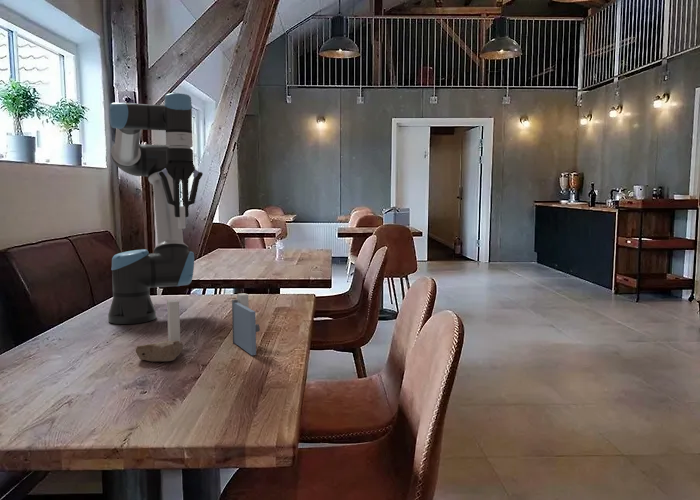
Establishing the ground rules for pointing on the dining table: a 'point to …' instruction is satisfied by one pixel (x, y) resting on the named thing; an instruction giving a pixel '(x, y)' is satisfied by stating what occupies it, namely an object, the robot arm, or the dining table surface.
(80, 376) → the dining table surface
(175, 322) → the pair of grey bars
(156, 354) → the stone
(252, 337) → the door
